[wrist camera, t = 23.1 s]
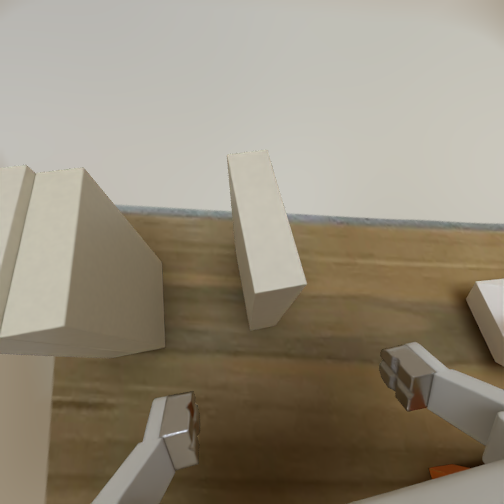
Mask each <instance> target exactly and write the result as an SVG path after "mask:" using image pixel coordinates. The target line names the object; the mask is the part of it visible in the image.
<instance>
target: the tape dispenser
mask: <svg viewBox="0 0 504 504" xmlns="http://www.w3.org/2000/svg"><path fill="white" fill-rule="evenodd" d="M466 301H467V303H468V305H469V307H470V309H471V312H472V314H473V316H474V318H475V320H476V322H477V324H478V327H479V329H480V331H481V333H482V335H483V337H484V339H485V341H486V344H487V346H488V348H489V350H490V352H491V354H492V356H493V358H494V361H495V362H496V363H498V364H500V365H502V366H504V279H497V280H487V281H476V282H475V284H474V286H473V287H472V289H471V291H470V293H469V295H468V296H467V298H466Z"/></svg>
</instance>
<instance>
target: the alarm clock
mask: <svg viewBox="0 0 504 504" xmlns="http://www.w3.org/2000/svg"><path fill="white" fill-rule="evenodd" d="M467 469H471V468H467V467H462V466H458V465H454V464H450V465H444V466H438V467H432V468H429V471H430V474H431V477H432V479H436V478H439V477H443V476H446V475H450V474H453V473H457V472H460V471H464V470H467Z"/></svg>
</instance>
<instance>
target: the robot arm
mask: <svg viewBox="0 0 504 504" xmlns="http://www.w3.org/2000/svg"><path fill="white" fill-rule="evenodd" d="M380 357H381V358H382V359H383V360H382V361H381V363H380V364H379V371H380V375H381V378H382V379H383V381H384V383H385V384H386V385H387V387H388V388H390V389H392V390H394V391H395V396H396V398H397V399H398V401H399V402H400V403H401V404H402V406H403V407H404V408H405V409H406V411H407V412H408V411H413V410H418V409H422V408H427V407H428V408H427V409H429V410H430V411H432V412H433V413H435V414H436V415H438V416H440V417H441V418H443V419H444V420H446V421H447V422H449V423H450V424H452V425H454V426H455V427H457V428H458V429H460V430H461V431H463V432H464V433H466V434H468V435H469V436H471V437H472V438H474V439H475V440H477V441H478V442H480V443H482V444H483V445H485V446H486V447H485V450H484V453H483V456H482V460H483V462H484V463H485V465H481V466H478V467H474V468H471V469H467V470H464V471H460V472H457V473H453V474H450V475H446V476H443V477H439V478H436V479H432V480H429V481H425V482H422V483H418V484H415V485H411V486H408V487H404V488H401V489H397V490H394V491H390V492H387V493H383V494H380V495H376V496H373V497H369V498H366V499H362V500H359V501H355V502H352V503H348V504H504V390H503V389H500V388H498V387H495V386H493V385H490V384H488V383H485V382H483V381H480V380H478V379H476V378H473V377H471V376H468V375H466V374H463V373H461V372H458V371H456V370H454V369H451V370H449V369H448V368H447V367H445V366H444V365H443V364H442V363H441V362H440V361H438V360H437V359H436V358H435V357H434V356H433V355H431V354H430V353H429V352H428V351H427V350H426V349H424V348H423V347H422V346H421V345H420V344H418V343H416V342H412V343H407V344H404V345H398V346H394V347H389V348H385V349H382V350H381V353H380ZM195 399H196V397H195V394H194V391H190V392H185V393H179V394H174V395H169V396H165V397H159V398H155V399H154V401H153V403H152V406H151V410H150V414H149V418H148V422H147V426H146V430H145V434H144V438H143V442H141V443H138V444H137V446H136V447H135V448H134V450H133V451H132V452H131V453H130V455H129V456H128V457H127V458H126V460H125V461H124V462H123V464H122V465H121V466H120V467H119V469H118V470H117V471H116V472H115V474H114V475H113V476H112V478H111V479H110V480H109V481H108V483H107V484H106V485H105V487H104V488H103V489H102V490H101V492H100V493H99V494H98V495H97V497H96V498H95V499H94V501H93V502H92V503H91V504H159V503H160V501H161V499H162V497H163V495H164V494H165V492H166V490H167V488H168V486H169V484H170V482H171V480H172V478H173V476H174V474H175V471H176V470H179V469H183V468H186V467H190V466H194V465H197V464H199V446H200V444H199V440H198V437H197V436H198V435H199V433H200V413H199V408H198V405H197V404H195Z"/></svg>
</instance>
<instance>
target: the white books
mask: <svg viewBox="0 0 504 504" xmlns="http://www.w3.org/2000/svg"><path fill="white" fill-rule="evenodd" d="M160 348H165V324H164V300H163V275H162V262H161V261H160V259H159V258H158V257H157V256H156V254H155V253H154V252H153V251H152V250H151V248H150V247H149V246H148V245H147V244H146V242H145V241H144V240H143V239H142V238H141V236H140V235H139V234H138V233H137V231H136V230H135V229H134V228H133V227H132V225H131V224H130V223H129V222H128V221H127V219H126V218H125V217H124V216H123V215H122V213H121V212H120V211H119V210H118V209H117V207H116V206H115V205H114V204H113V202H112V201H111V200H110V199H109V198H108V196H107V195H106V194H105V193H104V192H103V190H102V189H101V188H100V187H99V186H98V184H97V183H96V182H95V181H94V180H93V178H92V177H91V176H90V175H89V173H88V172H87V171H86V170H85V169H84V168H83V167H82V168H74V169H66V170H57V171H49V172H40V173H35V172H33V171H32V170H31V169H30V168H29V167H28V166H27V165H22V166H13V167H5V168H0V354H16V355H42V356H63V357H87V358H115V357H120V356H125V355H130V354H135V353H140V352H145V351H150V350H155V349H160Z"/></svg>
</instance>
